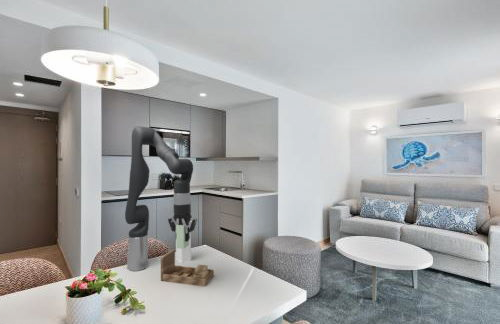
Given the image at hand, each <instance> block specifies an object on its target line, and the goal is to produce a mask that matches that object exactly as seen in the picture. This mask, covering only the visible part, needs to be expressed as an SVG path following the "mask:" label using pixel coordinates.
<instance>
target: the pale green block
mask: <svg viewBox="0 0 500 324" xmlns="http://www.w3.org/2000/svg"><path fill="white" fill-rule="evenodd" d="M186 226H187V225H186ZM176 241H177V248H180V249H184V248H186V247H187V246H189V241H187V242H185V228H184V226H183V225H177V226H176V233H175V242H176Z"/></svg>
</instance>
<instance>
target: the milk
mask: <svg viewBox="0 0 500 324" xmlns="http://www.w3.org/2000/svg"><path fill="white" fill-rule="evenodd" d="M191 233H192V232H190V239H189V246H187V247H186V248H184V249H180V248H177V241H176V240H175V262H176V261H177V262H179V263H180V264H183V263H187V262H189V261H192V246H191V245H192V243H191V242H192V238H191V237H192V235H191Z"/></svg>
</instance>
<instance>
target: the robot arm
mask: <svg viewBox="0 0 500 324" xmlns="http://www.w3.org/2000/svg"><path fill="white" fill-rule="evenodd" d="M143 145H144V146H152V147H154V148H155V150H156V154H157V156H158V158H160V160H161V161H163V162H164V164H165V165H166V166H167V168H168V170H169V172H170V173H172V174H173V175H180V177H179V179H176V180H175V181H174V182H173V217H170V218H168V219H167V222H168V224H169V227H170V230H171V231H172V232H175V234H176V226H177V225H183V226H184V228H185V242H187V241H189V239H190V232H191V233H192V232H193V231H194V230H195V228H196V225H197V222H198V219H197V218H194V217H192V207H191V206H192V205H191V203H192V202H191V201H192V198H191V181H192V176H193V174H194V173H193V172H194V164H193V162H192V160H190V159H188V158H180V155H179V154H178V153H177V151H175V150H174V149H173V148H171V146H169V145H168V144H167V143H166V141H164V139H163V138H162V137H161V136H160V134H159V133H158V132H157V131H156V129H155V128H153V127H148V126H140V125H138V126H134V128H133V129H132V131H131V158H130V159H131V160H130V169H129V170H130V171H129V182H128V184H129V185H128V193H127V195H128V196H127V199H126V207H125V211H124V218H125V220H124V221H125V222H126V224H128V225H136V224H137V225H136V226H135V227H133V228H132V229H130V230H129V231H128V250H126V259H127V260H126V261H127V263H126V265H127V268H126V269H128V270H129V271H131V272H138V271H143V270H145V269H147V268H148V267H147V266H149V263H148V262H149V261H148V259H149V257H148V256H149V255H148V254H149V252H148V250H149V249H148V248H149V247H148V243H149V241H148V235H149V234H148V231H149V227H150V226H149V222H150V210H149V207H148V206H147V205H146V204H139V205H137V204H138V200H139V198H140V196H141V194H142V193H143V192H144V191H145V189H146V188H147V186H148V184H149V181H150V168H149V165H148V163H147V161H146V160H145V158H144V155H143ZM186 225H187V226H186ZM146 267H147V268H146ZM144 268H145V269H144ZM142 269H143V270H142Z"/></svg>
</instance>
